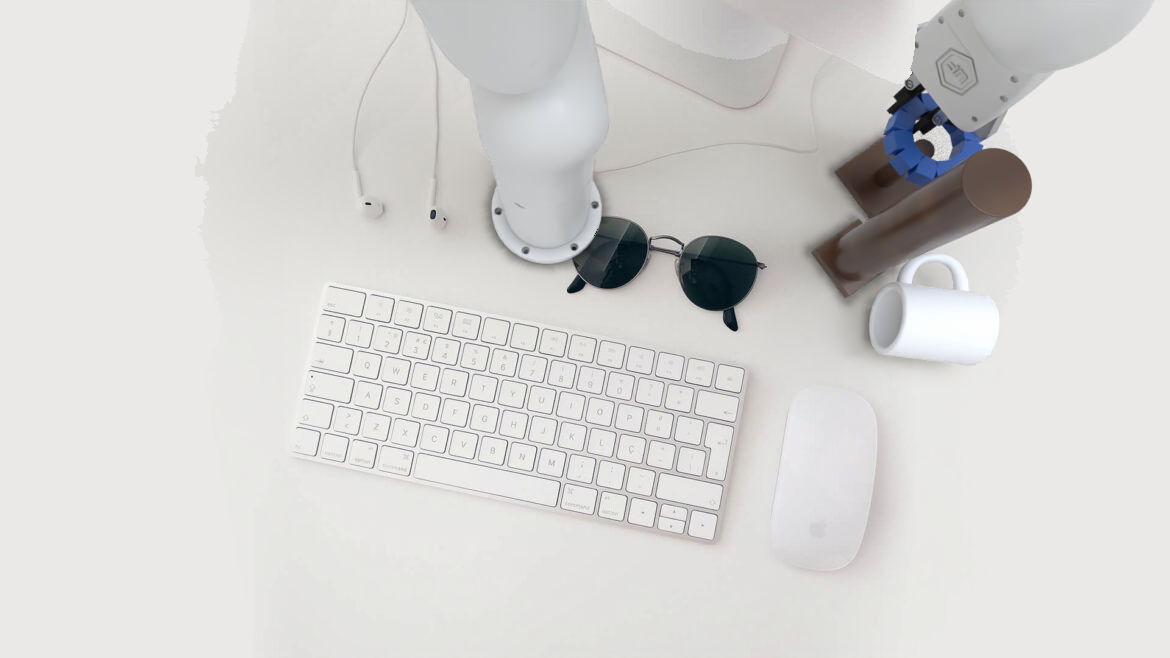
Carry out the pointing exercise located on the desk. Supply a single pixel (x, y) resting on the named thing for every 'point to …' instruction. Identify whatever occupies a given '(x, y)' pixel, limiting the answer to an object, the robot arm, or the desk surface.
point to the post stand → (878, 177)
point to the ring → (908, 153)
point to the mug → (934, 318)
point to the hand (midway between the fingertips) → (908, 116)
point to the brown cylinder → (928, 218)
